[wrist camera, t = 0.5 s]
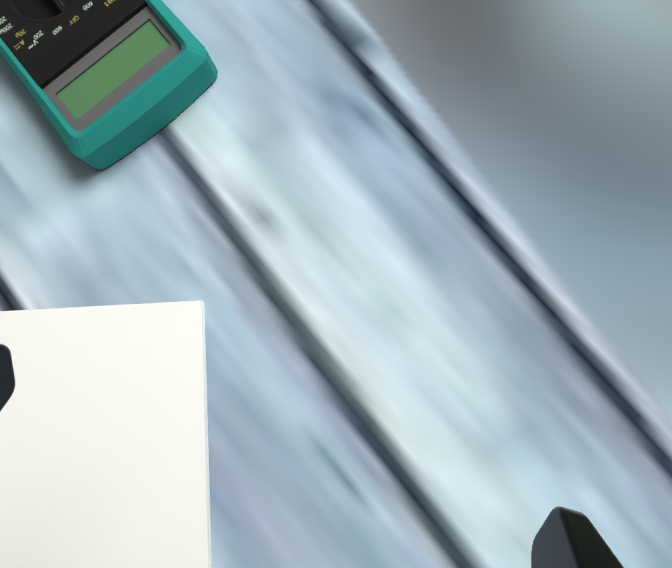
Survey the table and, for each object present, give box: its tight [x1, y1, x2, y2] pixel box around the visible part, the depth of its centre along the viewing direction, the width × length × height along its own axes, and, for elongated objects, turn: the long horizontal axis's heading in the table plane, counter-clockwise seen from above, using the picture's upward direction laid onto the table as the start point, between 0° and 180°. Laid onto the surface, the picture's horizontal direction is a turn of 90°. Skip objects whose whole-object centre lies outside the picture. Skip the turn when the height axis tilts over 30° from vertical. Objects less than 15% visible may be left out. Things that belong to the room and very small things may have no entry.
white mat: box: [0, 301, 212, 568], centre depth 23 cm, size 12×14×1 cm
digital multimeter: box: [0, 0, 218, 170], centre depth 24 cm, size 7×15×3 cm, turn 39°
